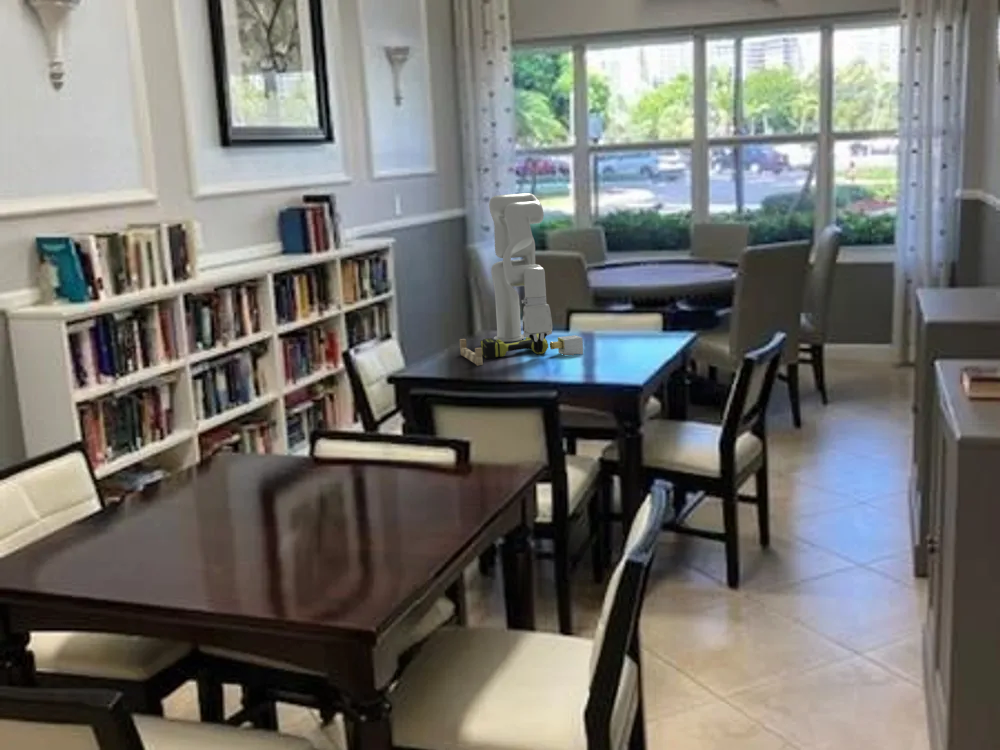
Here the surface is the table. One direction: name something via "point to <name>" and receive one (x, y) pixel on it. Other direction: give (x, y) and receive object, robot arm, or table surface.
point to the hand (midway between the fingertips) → (538, 351)
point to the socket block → (571, 345)
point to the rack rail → (471, 353)
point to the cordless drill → (507, 347)
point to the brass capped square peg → (556, 345)
